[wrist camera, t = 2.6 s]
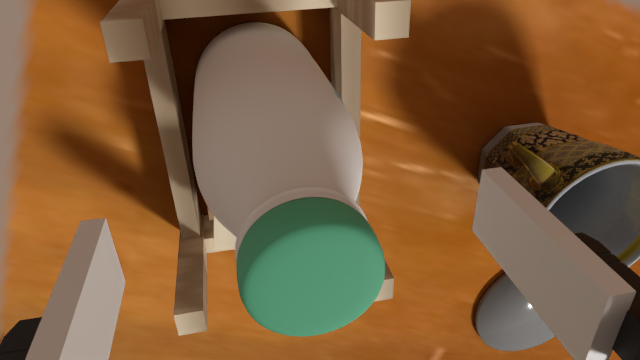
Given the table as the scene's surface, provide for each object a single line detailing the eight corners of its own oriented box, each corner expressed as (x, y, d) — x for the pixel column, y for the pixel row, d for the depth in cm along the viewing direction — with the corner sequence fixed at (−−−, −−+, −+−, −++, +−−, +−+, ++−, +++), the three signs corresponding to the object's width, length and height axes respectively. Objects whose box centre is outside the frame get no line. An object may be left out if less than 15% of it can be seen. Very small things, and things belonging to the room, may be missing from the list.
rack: (184, 234, 36) (178, 335, 28) (132, -15, 27) (99, 22, 19) (350, 210, 38) (392, 298, 30) (351, -28, 29) (411, -1, 21)
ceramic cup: (592, 148, 40) (696, 214, 32) (501, 230, 43) (575, 311, 34) (508, 48, 34) (609, 96, 26) (408, 150, 36) (469, 225, 28)
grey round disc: (467, 355, 50) (470, 360, 50) (483, 266, 44) (486, 270, 44) (570, 335, 52) (574, 339, 52) (599, 246, 46) (603, 250, 46)
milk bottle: (174, 104, 31) (139, 345, 14) (229, -5, 29) (264, 127, 12) (278, 151, 34) (351, 394, 17) (335, 56, 32) (485, 232, 15)
